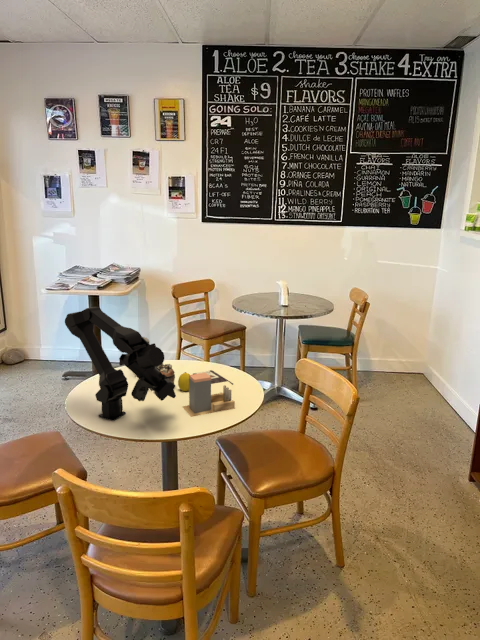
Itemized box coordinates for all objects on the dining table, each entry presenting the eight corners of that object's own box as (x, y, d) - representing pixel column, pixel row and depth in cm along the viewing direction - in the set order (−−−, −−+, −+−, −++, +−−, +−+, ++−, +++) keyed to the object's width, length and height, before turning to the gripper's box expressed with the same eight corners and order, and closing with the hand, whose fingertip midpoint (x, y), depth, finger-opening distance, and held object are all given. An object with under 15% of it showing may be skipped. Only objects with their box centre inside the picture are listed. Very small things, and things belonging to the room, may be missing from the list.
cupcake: (177, 384, 186) (177, 360, 183) (171, 393, 176) (171, 368, 174) (154, 383, 187) (153, 359, 184) (147, 392, 177) (146, 367, 175)
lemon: (179, 395, 175) (179, 375, 173) (177, 390, 180) (177, 370, 178) (194, 394, 176) (194, 374, 174) (191, 388, 181) (191, 369, 179)
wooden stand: (191, 419, 155) (190, 399, 154) (181, 409, 163) (181, 390, 161) (235, 410, 162) (235, 392, 161) (224, 401, 170) (224, 383, 168)
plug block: (194, 413, 158) (194, 379, 155) (189, 407, 162) (189, 374, 159) (210, 410, 160) (211, 377, 157) (205, 404, 164) (205, 372, 162)
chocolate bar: (213, 387, 181) (192, 373, 196) (213, 390, 182) (192, 375, 196) (233, 383, 186) (211, 370, 201) (233, 385, 186) (211, 372, 201)
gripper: (117, 377, 153) (149, 404, 161) (131, 398, 137) (166, 427, 144) (141, 352, 155) (171, 380, 163) (158, 369, 139) (191, 400, 146)
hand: (174, 396), depth 154 cm, fingers closed
